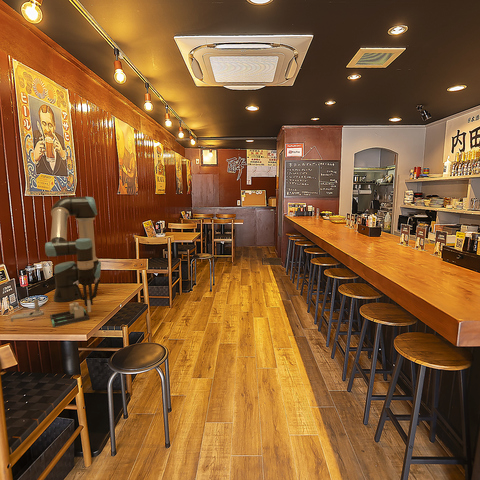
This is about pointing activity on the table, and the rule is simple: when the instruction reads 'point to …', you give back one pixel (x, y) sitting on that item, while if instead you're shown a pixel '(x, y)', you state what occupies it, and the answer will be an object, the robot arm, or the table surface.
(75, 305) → the beige rectangular block
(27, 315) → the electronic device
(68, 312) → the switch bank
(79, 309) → the beige handled cube
